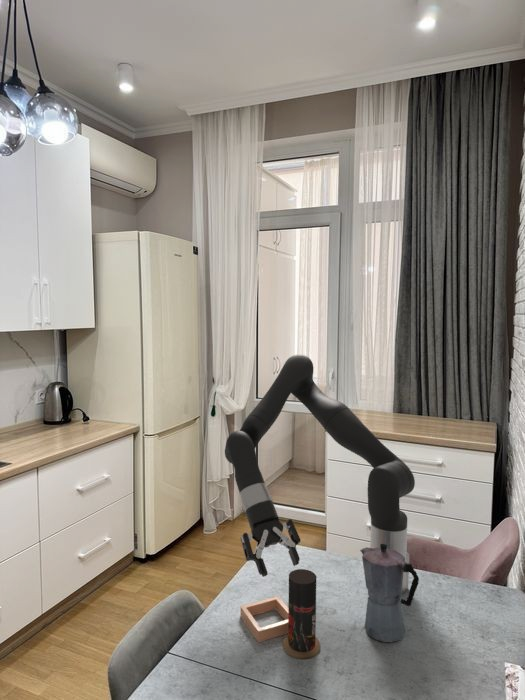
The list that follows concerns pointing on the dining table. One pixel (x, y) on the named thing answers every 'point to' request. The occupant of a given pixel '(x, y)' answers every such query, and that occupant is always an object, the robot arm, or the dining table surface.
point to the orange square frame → (262, 607)
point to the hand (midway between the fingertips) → (281, 570)
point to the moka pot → (386, 592)
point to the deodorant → (302, 610)
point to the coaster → (301, 654)
